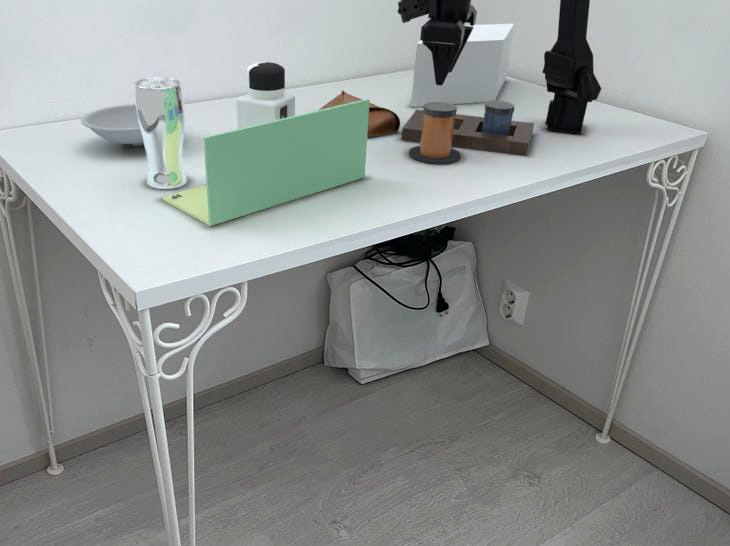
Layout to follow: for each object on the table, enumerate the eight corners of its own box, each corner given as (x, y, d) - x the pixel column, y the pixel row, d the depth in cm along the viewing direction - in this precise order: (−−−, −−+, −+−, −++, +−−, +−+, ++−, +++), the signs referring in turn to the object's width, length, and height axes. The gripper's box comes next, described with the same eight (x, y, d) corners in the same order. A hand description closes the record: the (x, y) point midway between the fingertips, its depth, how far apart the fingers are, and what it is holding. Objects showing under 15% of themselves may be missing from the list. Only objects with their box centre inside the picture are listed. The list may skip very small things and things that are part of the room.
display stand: (211, 226, 103) (205, 138, 96) (162, 199, 110) (154, 115, 103) (364, 178, 120) (369, 99, 113) (313, 157, 127) (315, 82, 120)
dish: (100, 165, 121) (96, 135, 118) (74, 140, 131) (69, 111, 128) (200, 149, 129) (198, 120, 126) (168, 126, 139) (166, 99, 136)
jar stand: (532, 134, 141) (534, 122, 140) (526, 155, 131) (529, 143, 130) (415, 120, 147) (416, 109, 145) (401, 139, 137) (402, 128, 135)
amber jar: (453, 150, 131) (459, 104, 127) (448, 160, 127) (454, 112, 122) (422, 146, 133) (427, 100, 128) (415, 156, 128) (420, 108, 124)
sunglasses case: (309, 112, 148) (324, 79, 146) (332, 125, 153) (347, 94, 151) (365, 137, 136) (382, 102, 134) (389, 150, 141) (406, 117, 139)
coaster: (464, 150, 133) (464, 148, 132) (456, 167, 125) (456, 164, 125) (414, 144, 135) (414, 142, 134) (403, 160, 128) (404, 158, 127)
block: (379, 98, 160) (383, 36, 153) (474, 73, 180) (482, 17, 173) (444, 116, 150) (452, 51, 143) (537, 87, 170) (548, 29, 163)
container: (295, 137, 136) (296, 62, 129) (275, 149, 130) (275, 72, 123) (258, 131, 138) (256, 57, 131) (237, 142, 133) (234, 66, 125)
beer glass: (180, 192, 113) (171, 90, 104) (137, 188, 114) (125, 86, 105) (195, 176, 118) (189, 78, 110) (154, 172, 119) (144, 75, 111)
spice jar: (509, 138, 139) (516, 102, 136) (507, 146, 135) (513, 110, 132) (482, 134, 141) (487, 99, 137) (478, 142, 136) (483, 106, 133)
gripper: (416, -36, 125) (407, 61, 134) (391, -22, 110) (384, 87, 119) (483, -32, 122) (469, 67, 131) (467, -17, 108) (453, 94, 116)
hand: (443, 78), depth 124 cm, fingers open, 9 cm apart
